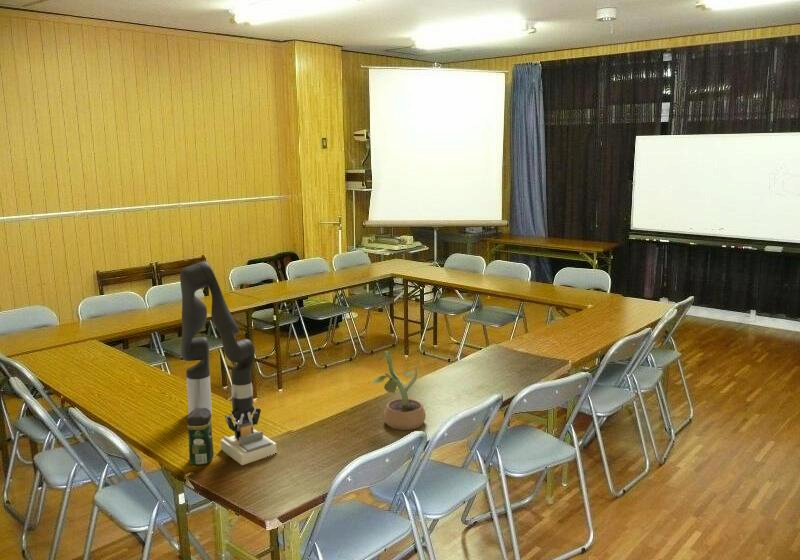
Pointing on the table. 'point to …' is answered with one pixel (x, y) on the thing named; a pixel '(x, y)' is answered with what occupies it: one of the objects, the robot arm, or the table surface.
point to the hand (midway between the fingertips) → (244, 437)
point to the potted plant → (401, 401)
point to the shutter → (253, 441)
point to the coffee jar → (200, 436)
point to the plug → (245, 428)
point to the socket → (241, 455)
